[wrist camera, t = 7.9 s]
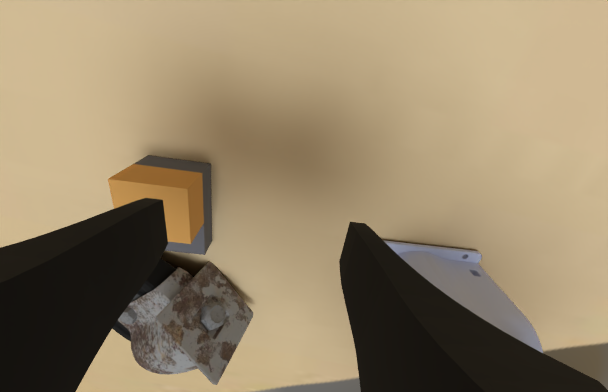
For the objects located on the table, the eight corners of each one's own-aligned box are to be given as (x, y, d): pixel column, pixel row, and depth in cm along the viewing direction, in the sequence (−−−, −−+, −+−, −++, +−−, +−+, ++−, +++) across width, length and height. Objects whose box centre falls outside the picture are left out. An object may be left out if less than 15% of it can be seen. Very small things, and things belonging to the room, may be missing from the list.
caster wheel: (121, 258, 26) (181, 216, 22) (192, 337, 28) (258, 312, 24) (45, 309, 20) (109, 263, 16) (143, 405, 22) (221, 385, 18)
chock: (211, 162, 19) (187, 189, 15) (212, 239, 22) (192, 278, 18) (149, 154, 18) (107, 179, 14) (159, 233, 22) (127, 271, 18)
